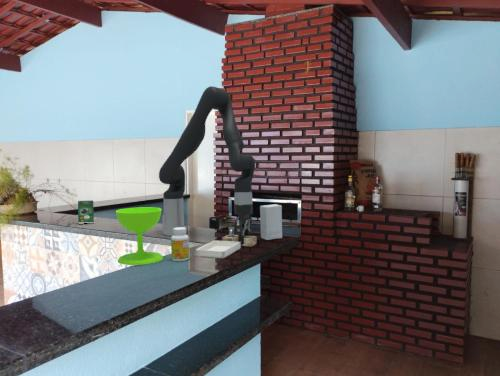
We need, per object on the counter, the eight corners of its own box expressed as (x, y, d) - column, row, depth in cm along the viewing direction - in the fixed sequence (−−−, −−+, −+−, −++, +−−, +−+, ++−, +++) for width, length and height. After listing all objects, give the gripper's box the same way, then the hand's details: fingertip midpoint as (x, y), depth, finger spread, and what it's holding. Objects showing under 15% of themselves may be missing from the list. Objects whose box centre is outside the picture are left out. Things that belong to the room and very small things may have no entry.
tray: (194, 256, 155) (194, 249, 155) (214, 246, 172) (214, 240, 172) (223, 258, 152) (223, 251, 151) (240, 248, 168) (240, 241, 168)
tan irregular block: (221, 245, 174) (220, 238, 174) (227, 241, 181) (227, 234, 181) (250, 247, 170) (250, 239, 170) (256, 243, 177) (256, 236, 177)
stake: (228, 243, 177) (227, 227, 176) (229, 242, 178) (229, 226, 178) (233, 244, 176) (233, 227, 175) (235, 243, 178) (234, 227, 177)
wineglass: (108, 263, 147) (106, 212, 145) (132, 253, 162) (131, 206, 161) (149, 266, 143) (147, 213, 141) (170, 255, 158) (169, 207, 156)
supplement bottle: (167, 260, 151) (167, 228, 150) (180, 256, 156) (179, 226, 155) (180, 262, 147) (179, 230, 146) (192, 258, 152) (192, 227, 151)
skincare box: (276, 236, 192) (275, 203, 190) (282, 238, 186) (282, 205, 185) (259, 238, 188) (259, 205, 187) (266, 240, 182) (265, 206, 181)
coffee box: (93, 222, 238) (92, 199, 237) (94, 223, 235) (93, 200, 234) (78, 224, 234) (77, 200, 233) (79, 224, 232) (77, 201, 230)
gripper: (240, 200, 182) (241, 238, 183) (228, 204, 168) (229, 245, 170) (257, 201, 179) (257, 239, 181) (246, 205, 166) (246, 246, 167)
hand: (244, 242), depth 175 cm, fingers closed on tan irregular block, 6 cm apart
